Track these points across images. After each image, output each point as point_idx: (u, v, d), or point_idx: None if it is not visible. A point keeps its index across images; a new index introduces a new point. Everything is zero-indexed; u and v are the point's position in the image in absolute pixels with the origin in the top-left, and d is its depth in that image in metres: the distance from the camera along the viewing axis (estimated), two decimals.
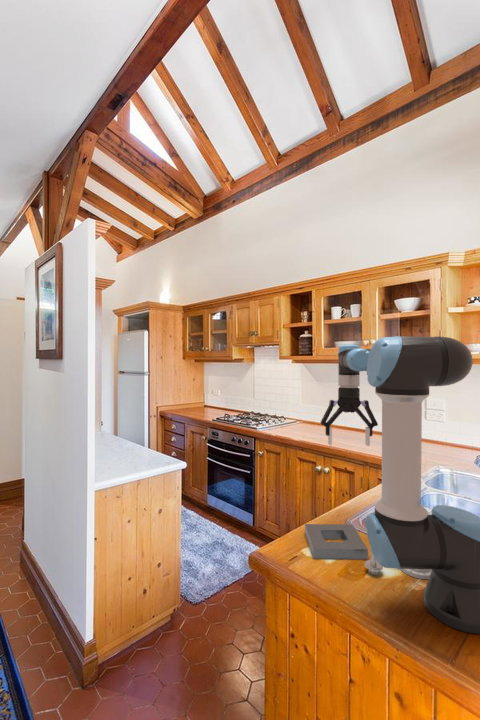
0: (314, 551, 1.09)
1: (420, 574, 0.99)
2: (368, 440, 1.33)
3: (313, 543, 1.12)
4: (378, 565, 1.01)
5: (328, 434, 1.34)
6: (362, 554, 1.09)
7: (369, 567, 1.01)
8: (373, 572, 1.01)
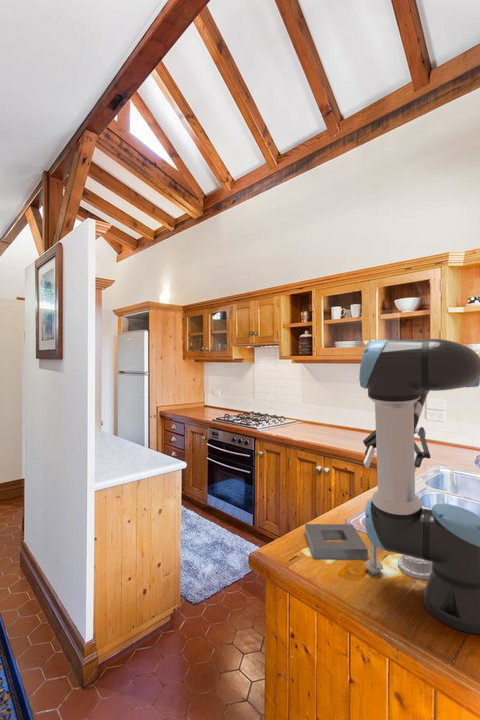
0: (314, 551, 1.09)
1: (420, 574, 0.99)
2: None
3: (313, 543, 1.12)
4: (378, 565, 1.01)
5: (366, 453, 1.18)
6: (362, 554, 1.09)
7: (369, 567, 1.01)
8: (373, 572, 1.01)
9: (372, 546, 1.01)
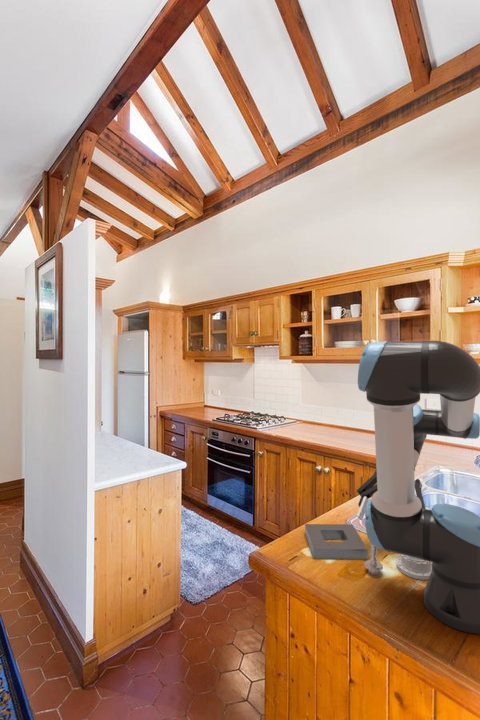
0: (314, 551, 1.09)
1: (418, 575, 0.99)
2: None
3: (313, 543, 1.12)
4: (378, 565, 1.01)
5: (360, 504, 1.13)
6: (362, 554, 1.09)
7: (369, 567, 1.01)
8: (373, 572, 1.01)
9: (372, 546, 1.01)
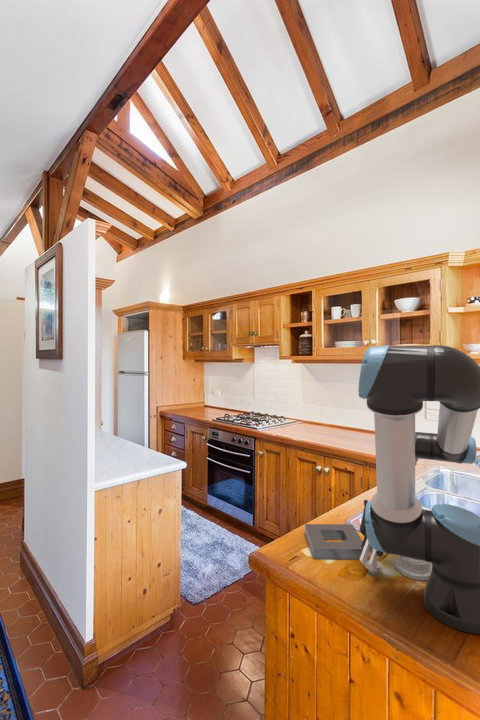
0: (314, 551, 1.09)
1: (417, 575, 0.99)
2: (372, 556, 0.99)
3: (313, 543, 1.12)
4: (378, 565, 1.01)
5: (363, 546, 1.02)
6: None
7: (369, 567, 1.01)
8: (373, 572, 1.01)
9: None
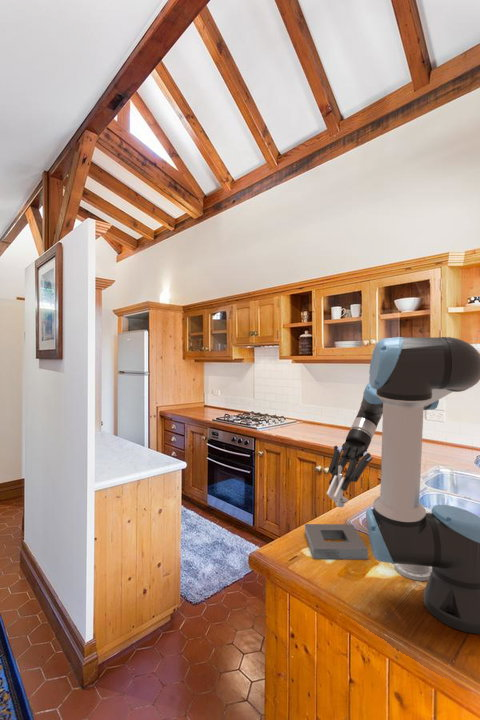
0: (314, 551, 1.09)
1: (416, 576, 0.99)
2: (337, 490, 1.12)
3: (313, 543, 1.12)
4: (343, 499, 1.15)
5: (331, 483, 1.16)
6: (362, 554, 1.09)
7: (335, 500, 1.14)
8: (339, 505, 1.15)
9: (338, 482, 1.15)
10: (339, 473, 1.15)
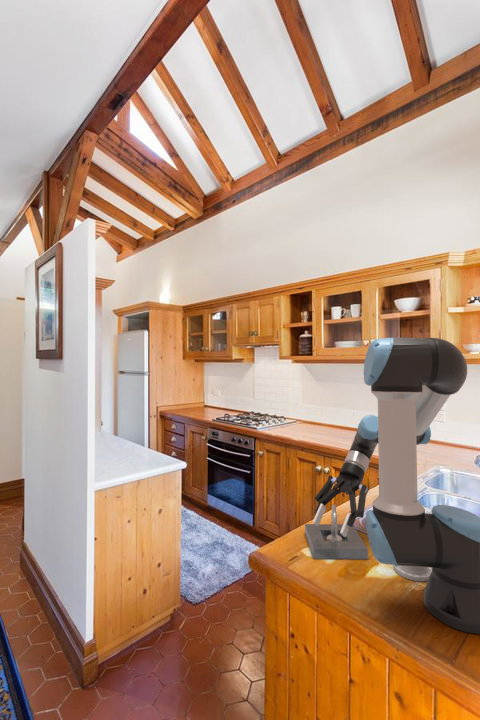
0: (314, 551, 1.09)
1: (415, 576, 0.98)
2: (343, 526, 1.11)
3: (313, 543, 1.12)
4: (338, 538, 1.16)
5: (317, 511, 1.20)
6: (362, 554, 1.09)
7: (330, 540, 1.15)
8: None
9: (332, 522, 1.16)
10: (333, 512, 1.16)
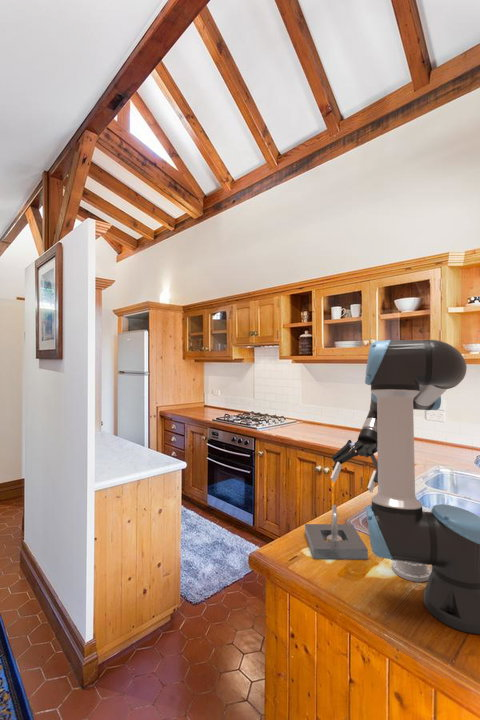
0: (314, 551, 1.09)
1: (414, 577, 0.98)
2: (370, 482, 1.19)
3: (313, 543, 1.12)
4: (338, 538, 1.16)
5: (334, 468, 1.30)
6: (362, 554, 1.09)
7: (330, 540, 1.15)
8: None
9: (333, 522, 1.16)
10: (333, 513, 1.16)
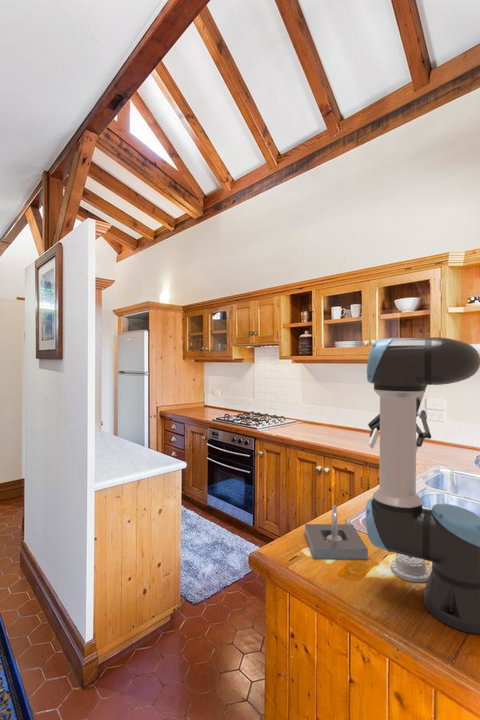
0: (314, 551, 1.09)
1: (413, 577, 0.98)
2: None
3: (313, 543, 1.12)
4: (338, 538, 1.16)
5: (371, 435, 1.26)
6: (362, 554, 1.09)
7: (330, 540, 1.15)
8: None
9: (333, 522, 1.16)
10: (333, 513, 1.16)
